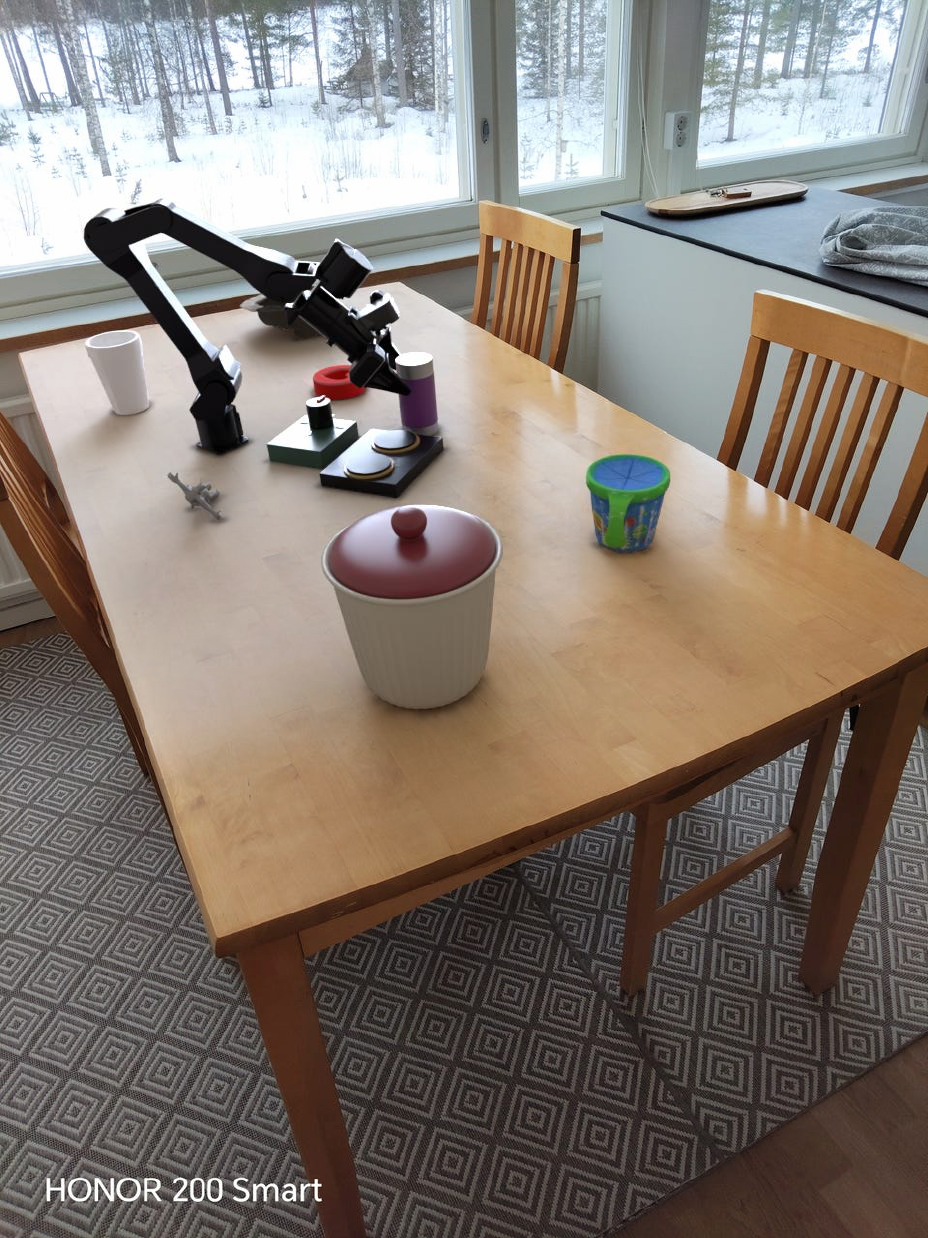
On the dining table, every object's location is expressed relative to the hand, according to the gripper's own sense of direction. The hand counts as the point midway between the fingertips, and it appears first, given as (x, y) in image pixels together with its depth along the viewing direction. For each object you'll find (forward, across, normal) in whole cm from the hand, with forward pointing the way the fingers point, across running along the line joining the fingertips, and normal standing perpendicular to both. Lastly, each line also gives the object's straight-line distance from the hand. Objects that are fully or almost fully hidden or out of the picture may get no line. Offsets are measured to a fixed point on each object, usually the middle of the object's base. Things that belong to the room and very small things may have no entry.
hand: (410, 382), depth 148 cm
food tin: (+7, 0, +5) cm, 9 cm away
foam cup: (-32, +19, +44) cm, 57 cm away
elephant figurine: (-16, -23, +28) cm, 40 cm away
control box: (-6, -4, +18) cm, 19 cm away
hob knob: (-7, -2, +15) cm, 16 cm away
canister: (+7, -66, +5) cm, 66 cm away
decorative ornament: (-4, +21, +16) cm, 27 cm away
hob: (+3, -13, +9) cm, 16 cm away
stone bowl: (-12, +61, +25) cm, 67 cm away
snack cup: (+26, -40, -14) cm, 50 cm away
